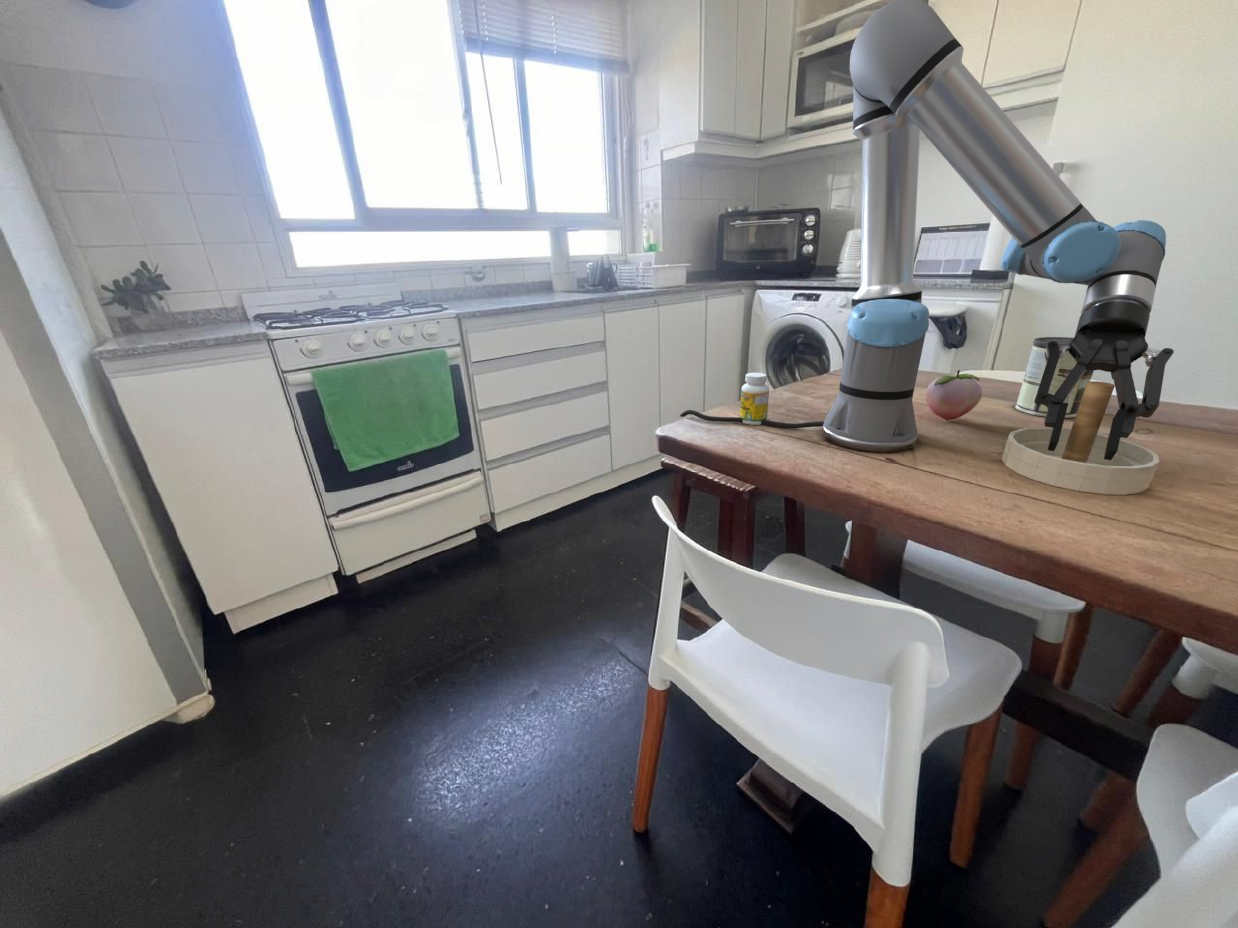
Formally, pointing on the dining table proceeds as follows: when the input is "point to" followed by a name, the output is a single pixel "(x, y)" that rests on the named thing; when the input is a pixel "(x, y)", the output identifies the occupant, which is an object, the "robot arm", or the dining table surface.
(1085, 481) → the bowl
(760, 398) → the supplement bottle
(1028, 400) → the coffee can
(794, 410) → the dining table surface
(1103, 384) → the muddler
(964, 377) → the decorative fruit
